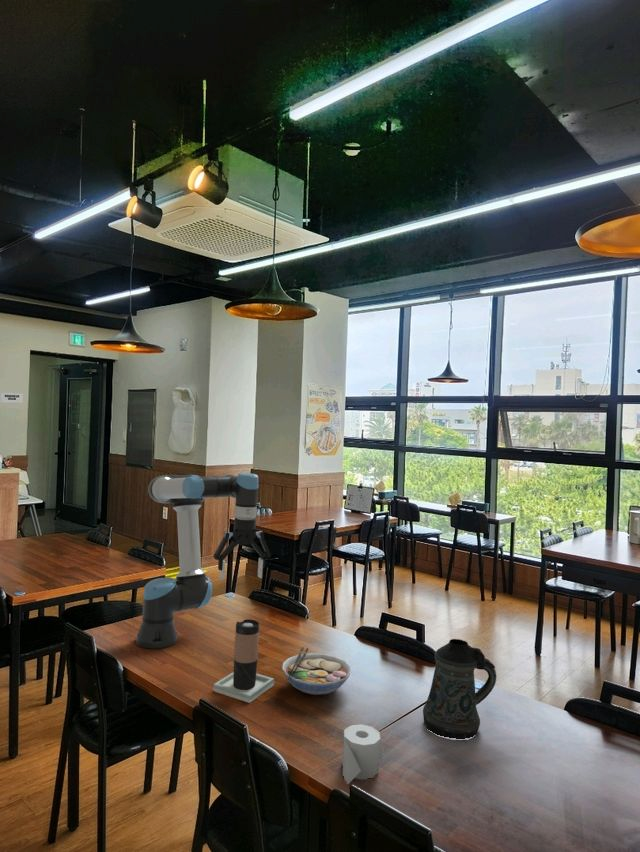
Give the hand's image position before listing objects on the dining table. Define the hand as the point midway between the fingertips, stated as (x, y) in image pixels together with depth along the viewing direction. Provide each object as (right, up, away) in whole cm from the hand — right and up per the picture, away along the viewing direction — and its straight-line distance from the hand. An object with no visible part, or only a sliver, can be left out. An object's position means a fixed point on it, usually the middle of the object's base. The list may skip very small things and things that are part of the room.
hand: (241, 578), depth 192 cm
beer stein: (+68, -35, -30) cm, 82 cm away
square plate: (+3, -32, -14) cm, 35 cm away
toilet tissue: (+37, -34, -54) cm, 74 cm away
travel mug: (+3, -31, -14) cm, 34 cm away
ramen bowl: (+26, -33, -12) cm, 44 cm away
